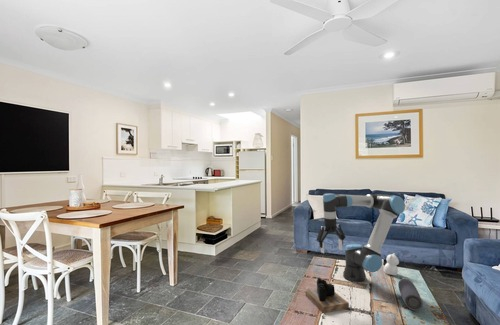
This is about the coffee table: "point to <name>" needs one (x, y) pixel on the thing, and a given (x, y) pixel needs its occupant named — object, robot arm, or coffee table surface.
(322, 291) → the film camera
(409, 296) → the bluetooth speaker
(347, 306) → the wooden pallet
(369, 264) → the robot arm
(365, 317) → the coffee table surface
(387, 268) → the cat figurine
